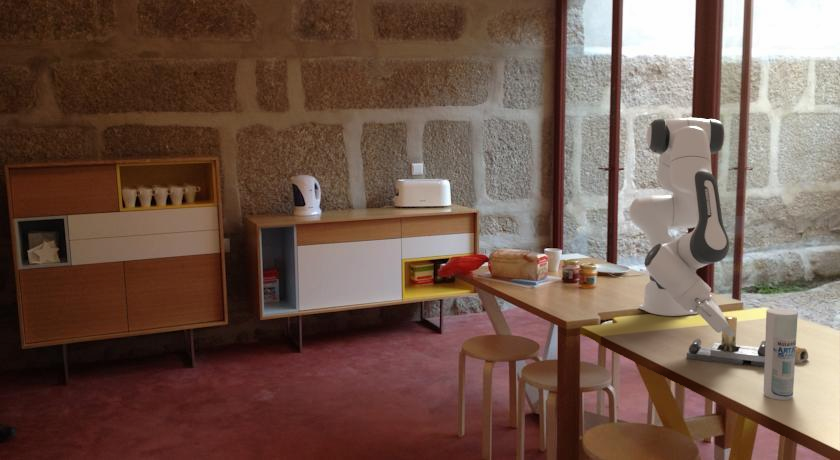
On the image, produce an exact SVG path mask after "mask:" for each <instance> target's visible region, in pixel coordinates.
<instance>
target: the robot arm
mask: <svg viewBox="0 0 840 460" xmlns="http://www.w3.org/2000/svg"><path fill="white" fill-rule="evenodd" d="M725 140H726V132H725V128H724V124H723V123H722V122H721V121H720V120H717V119H713V118H709V119H706V118H701V117H699V118H698V117H676V118H665V117H664V118H657V119H654V120H652V121H651V122H650V124H649V127H648V129H647V131H646V143H647V145H648V149H649V150H650V151H651V152H653V153H655V154H659V158H658V166H657V174H656V180H657V182H658V183H659V185H660V186H661V187H662V188H663V189H665V190H667V191H669V192H670V193H672V194H647V195H644V196H639V197H636V198H634V200H633V201H632V202H631V204H630V206H629V217H630V220H631V222H632V223H633V224H634V226H636V227H637V228H638V229H640V230H641V231H642V233H644V235H645V236H646V238H647V240H648V242H649V247H650V250H649V252H648V253H647V254H646V255H645V258H644V262H643V263H644V267H645V270H646V271H647V272H648V273H649V282H647V283H646V284H645V285H644V295H643V296H644V297H643V303H641V304H640V305H639V306H638V309H639V310H643V311H645V312H647V313H650V314H654V315H658V316H666V317H674V316H675V317H676V316H677V317H678V316H680V317H681V316H687V315H697V314H699V316H700V317H701V318H702V319H703V320H704V321H705V322H706V323H707V324H708V325H709V326H710V327H711V328H712V329H713V330H714V332H716V333H722V331H724V332H725V333H726V334H727V335H728V336H729V337H732V336H734V335H735V331H734V330H733V329H732V328H731V327H730V326H729V325H728V322H727V321H726V319H725V317H724V316H725V315H724V314H723V311H722V309H721V308H720V306H719V305H718V303H717V302H716V300H714V298H713V295H712V294H710V293H711V291H712V288H711V287H710V285H709V284H707V283H706V282H705V281H704V280H703V279H702V278H701V276H699V275H698V273H697V270H698V269H700V268H704V267H705V266H708V265H711V264H714V263H718V262H720V261H722V260H723V259H725V258H726V256H728V253H729V251H730V240H729V236H728V233H727V230H726V229H725V225H724V221H723V215H722V209H721V201H720V192H719V186H718V183H717V180H716V178H715V176H714V175H713V172H712V171H713V170H712V155H715V154H718V153H719V152H720V151H721V150H722V149H723V146H724V143H725ZM693 228H694V229H693ZM670 229H693V230H692V231H690V232H688V233H687V234H684V235H682V236H681V237H679V238H674V237H672V236H670V235H669V230H670Z"/></svg>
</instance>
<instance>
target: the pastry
mask: <svg viewBox="0 0 840 460" xmlns="http://www.w3.org/2000/svg"><path fill="white" fill-rule="evenodd" d="M808 359H809V353H808V350H807V349H806V348H805V347H803V348H801V347H798V346H796V352H795V364H801V363H804V361H807V360H808Z"/></svg>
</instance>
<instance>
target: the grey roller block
mask: <svg viewBox="0 0 840 460" xmlns="http://www.w3.org/2000/svg"><path fill="white" fill-rule="evenodd" d="M686 359H690V360H696V361H697V360H698V361H706V362H714V363H722V364H730V365H737V366H743V365H744V362H745V361H750V362H751V363H750V365H751V366H755V367H763V368H764V366H765V340H762V341H760V345H759V347H758V346H751V345H750V346H748V345H743V344H741V345H739V344H736V352H734V351H725V350H721V342H714V343H713V345H712V347H711V346H702V340H701V339H700V338H695V339H694V340H693V342H692V343H691V345H690V346H689V348H688V350H687V352H686Z"/></svg>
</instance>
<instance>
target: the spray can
mask: <svg viewBox="0 0 840 460" xmlns="http://www.w3.org/2000/svg"><path fill="white" fill-rule="evenodd" d="M765 315H766V316H765V340H764V341H765V366H764V367H763V368H764V369H763V370H764V372H763V374H764V375H763V395H764V396H765V397H767V398H769V399H772V400H777V401H779V400H781V401H788V400H792V399H793V397H794V384H795V382H794V381H795V366H796V363H795V352H796V347H797V334H798V333H797V332H798V331H797V330H798V317H799V316H798V315H799V314H798V312H797V310H793V309H791V308H784V307H773V308H768V309H767V310H766V311H765Z"/></svg>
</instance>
